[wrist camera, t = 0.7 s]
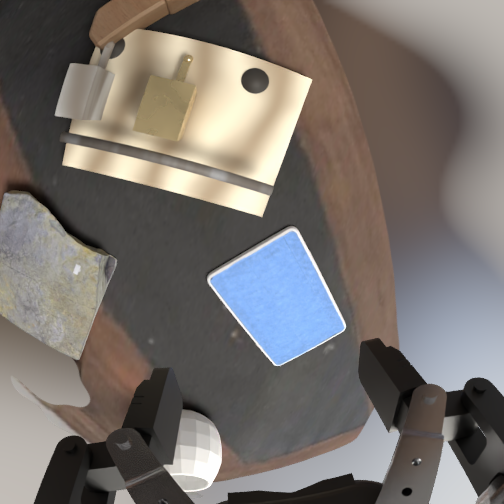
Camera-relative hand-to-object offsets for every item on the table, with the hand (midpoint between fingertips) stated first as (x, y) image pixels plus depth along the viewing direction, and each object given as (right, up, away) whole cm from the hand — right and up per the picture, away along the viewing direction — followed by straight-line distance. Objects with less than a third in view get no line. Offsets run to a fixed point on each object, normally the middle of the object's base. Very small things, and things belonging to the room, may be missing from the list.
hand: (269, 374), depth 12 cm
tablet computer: (+3, -2, +28) cm, 29 cm away
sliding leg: (-8, +20, +14) cm, 26 cm away
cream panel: (-8, +19, +16) cm, 27 cm away
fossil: (-28, +2, +21) cm, 35 cm away
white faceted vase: (-13, -26, +36) cm, 46 cm away
